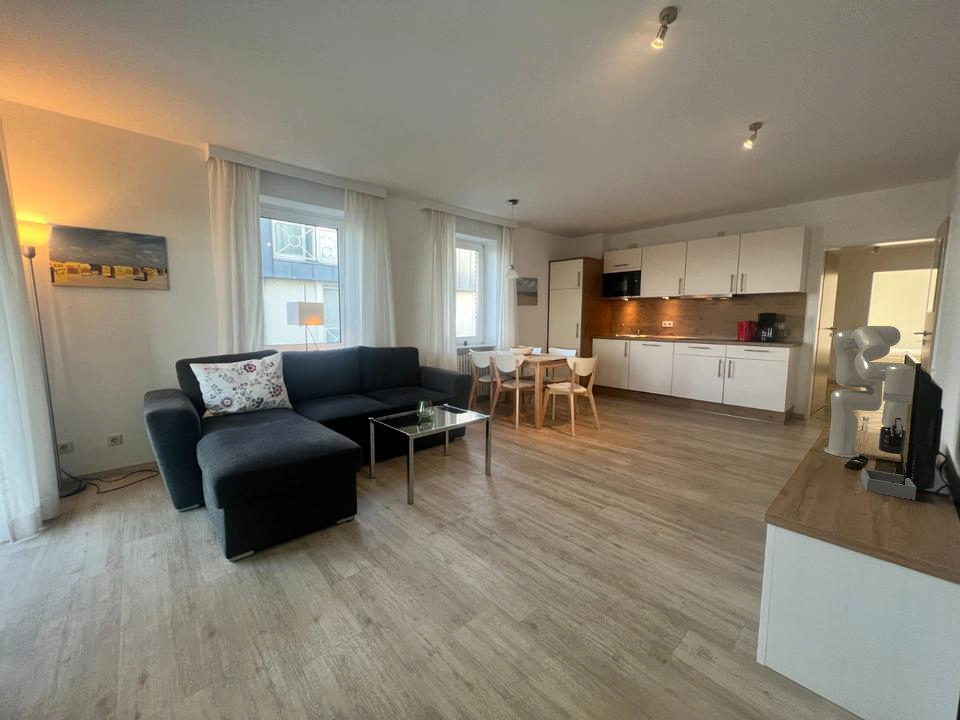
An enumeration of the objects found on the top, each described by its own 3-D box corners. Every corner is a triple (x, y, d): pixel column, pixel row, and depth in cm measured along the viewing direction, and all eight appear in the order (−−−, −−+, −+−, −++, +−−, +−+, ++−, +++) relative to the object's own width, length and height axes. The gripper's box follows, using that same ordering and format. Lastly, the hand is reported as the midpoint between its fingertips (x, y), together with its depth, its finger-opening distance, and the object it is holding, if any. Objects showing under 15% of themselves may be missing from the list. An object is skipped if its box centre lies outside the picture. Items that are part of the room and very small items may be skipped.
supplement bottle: (909, 454, 145) (913, 423, 143) (890, 454, 145) (894, 423, 144) (890, 448, 152) (894, 418, 150) (872, 448, 152) (876, 418, 150)
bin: (861, 480, 159) (862, 468, 158) (905, 488, 151) (907, 475, 151) (866, 491, 149) (867, 478, 148) (914, 500, 141) (916, 487, 141)
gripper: (878, 393, 155) (873, 436, 157) (888, 400, 141) (882, 448, 143) (905, 395, 150) (900, 439, 152) (918, 403, 137) (912, 452, 139)
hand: (891, 443), depth 148 cm, fingers closed on supplement bottle, 6 cm apart
